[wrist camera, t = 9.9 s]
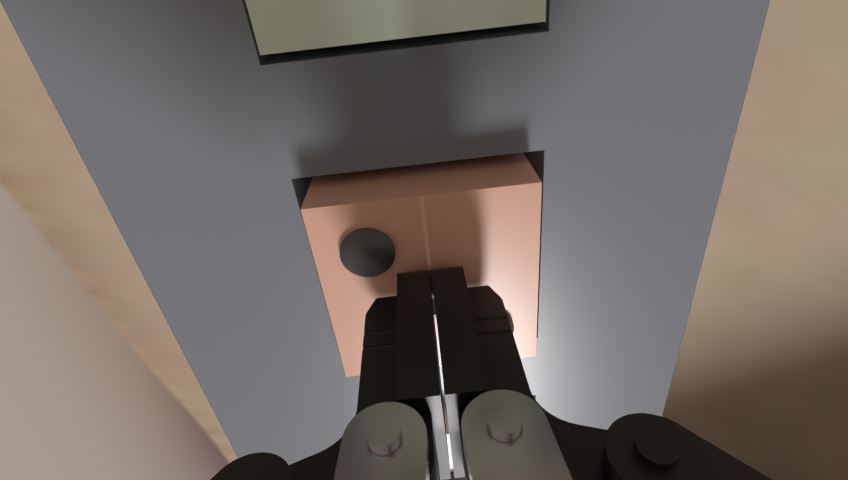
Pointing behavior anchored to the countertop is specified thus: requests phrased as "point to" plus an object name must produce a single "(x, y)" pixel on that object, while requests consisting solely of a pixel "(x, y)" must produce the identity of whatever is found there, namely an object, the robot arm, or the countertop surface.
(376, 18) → the button two dots
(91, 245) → the countertop surface
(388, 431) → the robot arm
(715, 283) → the countertop surface
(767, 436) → the countertop surface
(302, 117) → the button panel
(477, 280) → the button three dots
